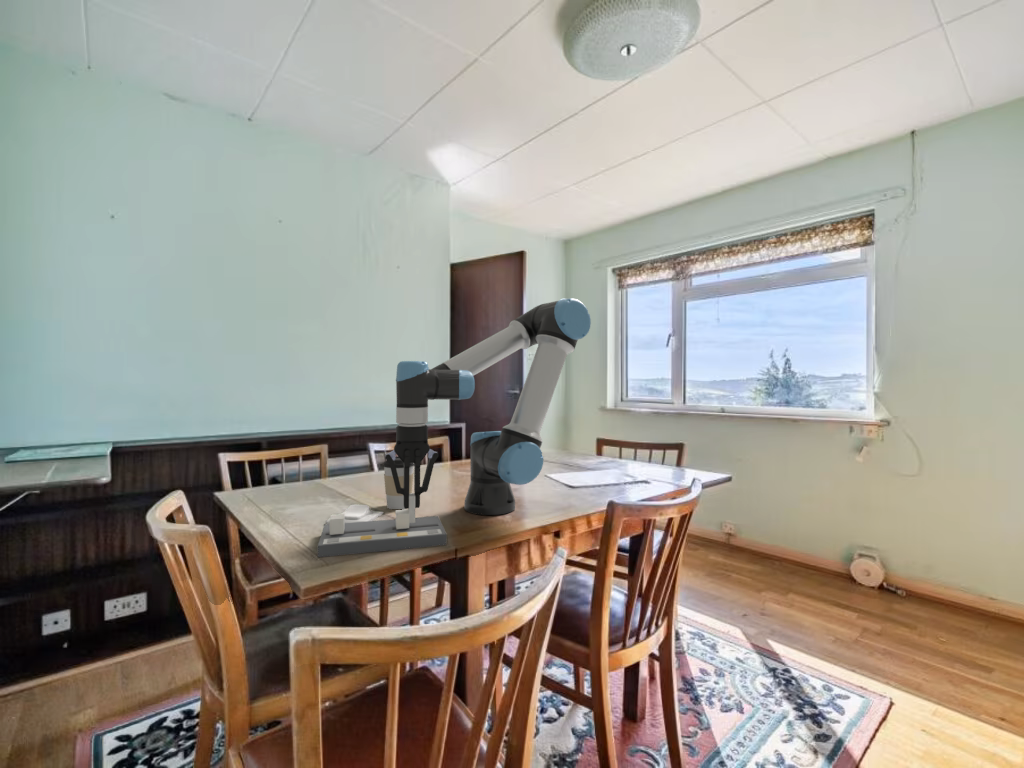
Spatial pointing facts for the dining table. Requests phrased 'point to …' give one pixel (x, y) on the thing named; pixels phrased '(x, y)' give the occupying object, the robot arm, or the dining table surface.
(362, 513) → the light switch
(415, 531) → the switch panel
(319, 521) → the dining table surface
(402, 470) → the coffee cup
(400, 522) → the slide switch
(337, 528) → the slide switch
